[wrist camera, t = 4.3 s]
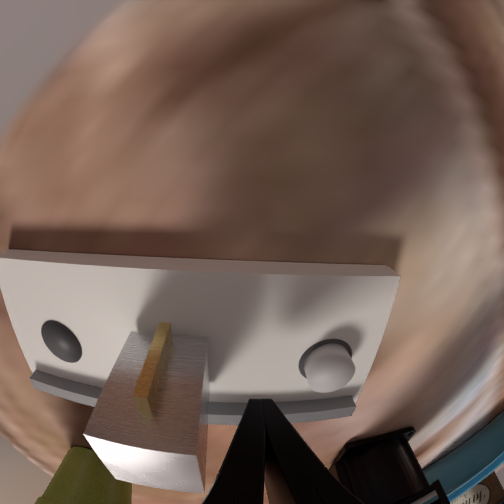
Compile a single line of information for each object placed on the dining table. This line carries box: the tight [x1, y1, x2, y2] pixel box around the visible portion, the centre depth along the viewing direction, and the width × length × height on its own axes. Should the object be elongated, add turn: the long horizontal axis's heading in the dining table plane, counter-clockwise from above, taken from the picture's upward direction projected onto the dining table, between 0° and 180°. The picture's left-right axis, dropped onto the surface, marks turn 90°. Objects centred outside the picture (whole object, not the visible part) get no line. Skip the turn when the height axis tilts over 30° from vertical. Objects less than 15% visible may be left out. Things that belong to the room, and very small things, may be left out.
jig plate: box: [0, 249, 401, 425], centre depth 10 cm, size 18×8×2 cm, turn 86°
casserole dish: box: [422, 410, 504, 504], centre depth 20 cm, size 37×22×7 cm, turn 113°
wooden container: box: [450, 471, 504, 504], centre depth 22 cm, size 15×15×22 cm
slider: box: [83, 322, 210, 493], centre depth 8 cm, size 3×4×5 cm
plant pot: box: [35, 447, 132, 504], centre depth 12 cm, size 9×9×9 cm
